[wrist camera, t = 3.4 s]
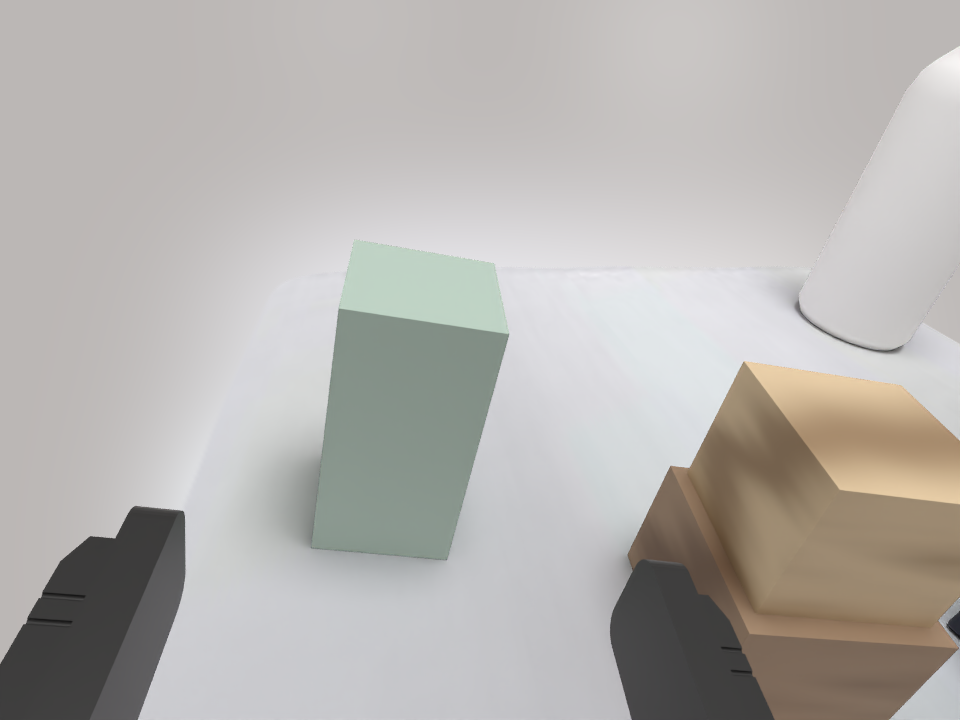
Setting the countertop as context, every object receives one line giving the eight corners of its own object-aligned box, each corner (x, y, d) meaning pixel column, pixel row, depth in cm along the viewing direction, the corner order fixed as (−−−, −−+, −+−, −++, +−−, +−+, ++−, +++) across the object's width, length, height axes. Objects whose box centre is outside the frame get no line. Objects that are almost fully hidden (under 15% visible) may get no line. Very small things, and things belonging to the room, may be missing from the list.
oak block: (687, 473, 24) (743, 360, 22) (830, 490, 25) (901, 385, 23) (755, 613, 19) (839, 490, 17) (930, 627, 20) (1036, 513, 18)
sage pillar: (327, 456, 28) (354, 239, 23) (443, 469, 29) (494, 263, 24) (311, 548, 24) (338, 308, 19) (446, 560, 25) (509, 334, 20)
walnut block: (626, 556, 27) (670, 465, 24) (778, 570, 28) (835, 485, 26) (683, 729, 21) (749, 634, 19) (872, 736, 22) (958, 648, 20)
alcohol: (837, 297, 59) (1060, -100, 44) (926, 350, 53) (1223, -91, 37) (771, 299, 55) (992, -138, 40) (860, 358, 49) (1163, -135, 33)
